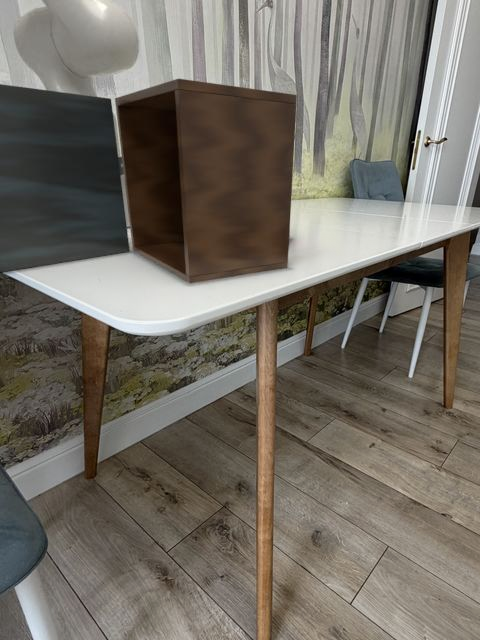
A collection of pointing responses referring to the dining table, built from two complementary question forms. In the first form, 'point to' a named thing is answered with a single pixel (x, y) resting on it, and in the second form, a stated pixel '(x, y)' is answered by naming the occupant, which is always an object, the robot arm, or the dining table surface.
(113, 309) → the dining table surface
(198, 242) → the cupboard
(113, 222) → the door
